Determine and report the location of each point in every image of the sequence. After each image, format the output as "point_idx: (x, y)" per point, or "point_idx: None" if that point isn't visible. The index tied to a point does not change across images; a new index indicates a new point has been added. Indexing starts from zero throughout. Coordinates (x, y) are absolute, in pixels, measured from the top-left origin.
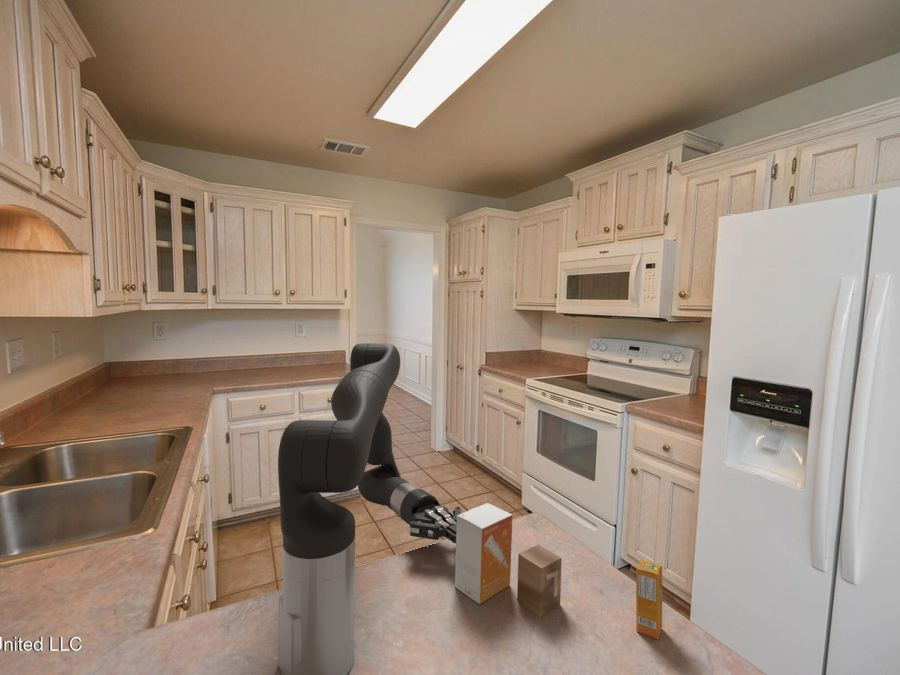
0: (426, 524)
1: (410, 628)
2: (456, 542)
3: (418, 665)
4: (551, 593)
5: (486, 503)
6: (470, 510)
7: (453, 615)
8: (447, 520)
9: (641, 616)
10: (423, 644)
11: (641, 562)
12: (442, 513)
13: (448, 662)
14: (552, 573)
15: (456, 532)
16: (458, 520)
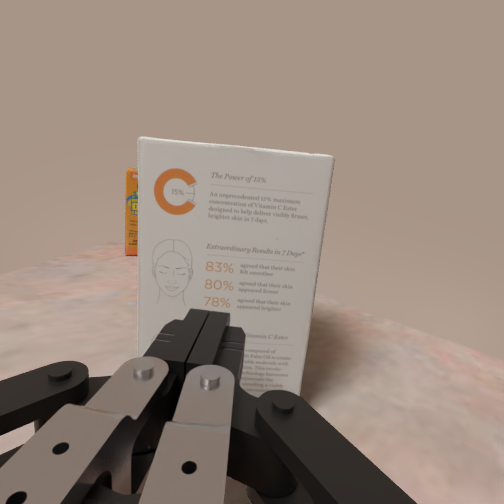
0: (349, 480)
1: (487, 404)
2: (318, 266)
3: (475, 352)
4: None
5: (148, 137)
6: (256, 148)
7: (360, 372)
8: (139, 405)
9: None
10: (457, 368)
11: (135, 170)
12: (63, 472)
13: (417, 333)
14: None
15: (324, 228)
16: (329, 173)
